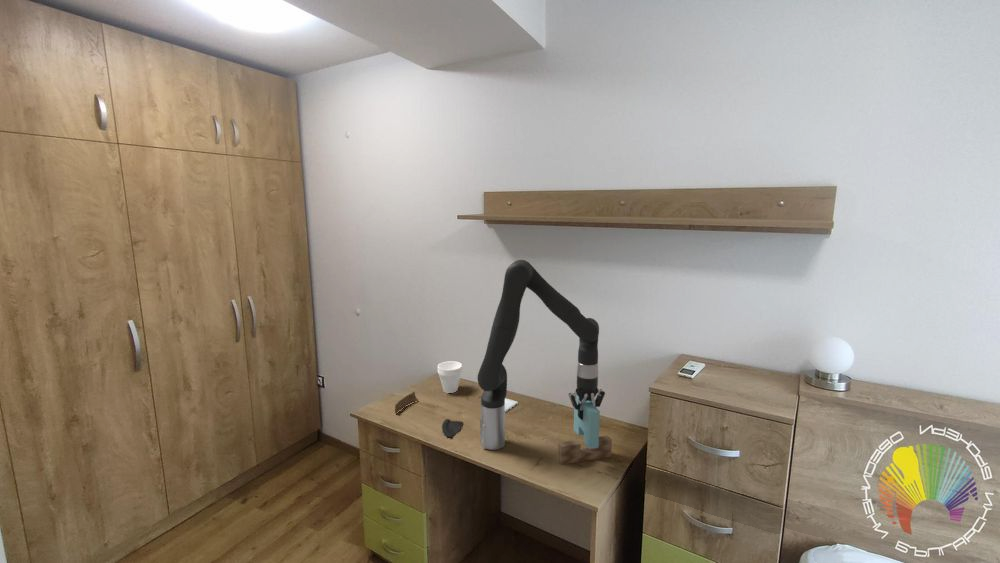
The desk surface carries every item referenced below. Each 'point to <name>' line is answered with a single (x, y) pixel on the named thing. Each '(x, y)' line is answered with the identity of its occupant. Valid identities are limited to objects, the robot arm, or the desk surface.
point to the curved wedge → (451, 427)
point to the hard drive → (509, 404)
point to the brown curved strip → (405, 401)
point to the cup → (450, 375)
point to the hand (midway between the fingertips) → (586, 417)
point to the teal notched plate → (588, 424)
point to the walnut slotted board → (583, 451)
